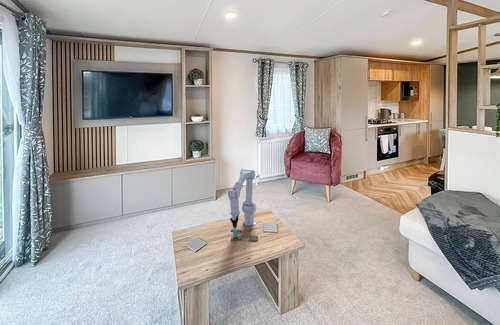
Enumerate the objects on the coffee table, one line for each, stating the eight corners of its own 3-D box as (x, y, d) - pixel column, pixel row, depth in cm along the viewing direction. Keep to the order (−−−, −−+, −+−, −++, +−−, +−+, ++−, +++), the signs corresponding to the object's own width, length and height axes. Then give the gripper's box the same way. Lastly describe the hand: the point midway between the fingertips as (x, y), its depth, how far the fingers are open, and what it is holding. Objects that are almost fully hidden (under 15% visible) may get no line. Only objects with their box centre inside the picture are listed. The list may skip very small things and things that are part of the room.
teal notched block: (234, 233, 185) (233, 226, 184) (238, 233, 185) (238, 226, 184) (233, 236, 180) (233, 230, 179) (237, 236, 180) (237, 230, 178)
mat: (249, 236, 185) (249, 235, 185) (258, 236, 185) (258, 235, 185) (248, 241, 179) (248, 240, 179) (257, 241, 179) (257, 240, 178)
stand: (231, 236, 186) (231, 228, 184) (241, 236, 185) (241, 228, 184) (230, 240, 181) (230, 231, 179) (240, 240, 180) (240, 231, 179)
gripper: (230, 202, 184) (231, 220, 188) (227, 211, 170) (228, 230, 174) (240, 202, 184) (240, 220, 187) (238, 211, 170) (239, 230, 173)
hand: (235, 224), depth 180 cm, fingers open, 7 cm apart
